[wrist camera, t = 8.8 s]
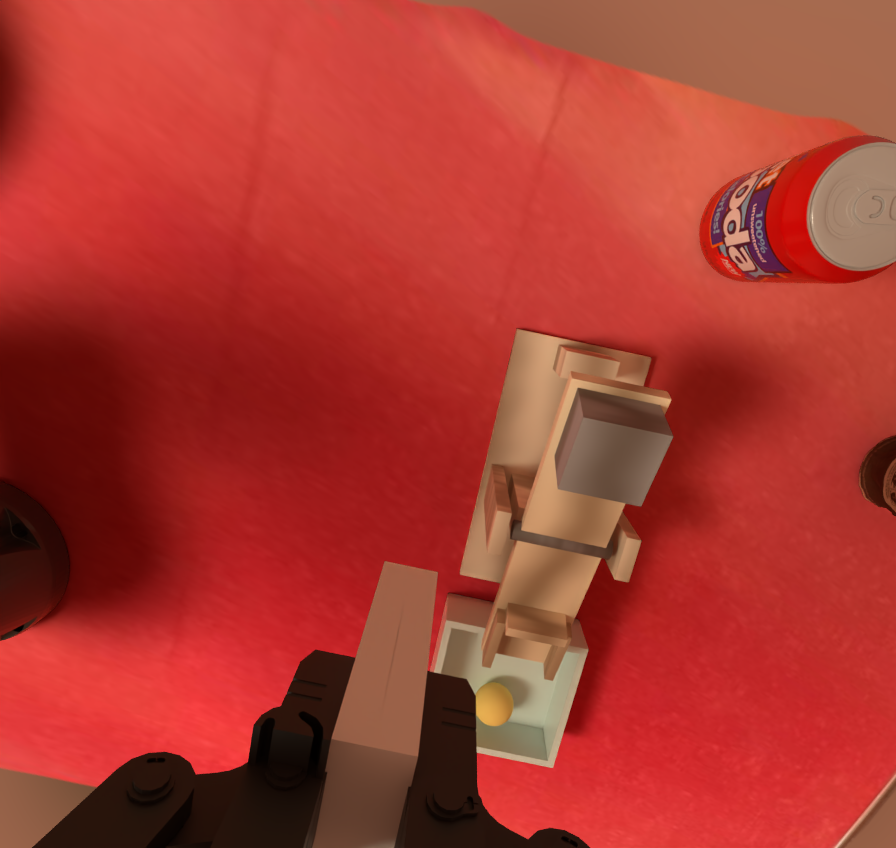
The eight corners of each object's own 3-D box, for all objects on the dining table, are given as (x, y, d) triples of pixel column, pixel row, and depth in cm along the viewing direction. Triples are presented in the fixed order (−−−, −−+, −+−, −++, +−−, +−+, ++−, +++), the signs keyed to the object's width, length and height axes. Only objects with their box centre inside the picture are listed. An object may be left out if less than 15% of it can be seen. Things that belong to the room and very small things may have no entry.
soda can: (788, 283, 47) (931, 286, 33) (687, 279, 47) (784, 280, 33) (807, 177, 45) (966, 129, 31) (702, 173, 46) (811, 124, 31)
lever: (475, 637, 49) (472, 688, 45) (562, 367, 36) (567, 405, 32) (558, 654, 49) (562, 707, 45) (675, 391, 36) (695, 432, 32)
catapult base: (460, 570, 54) (457, 644, 43) (516, 328, 49) (530, 343, 38) (579, 595, 54) (606, 675, 43) (648, 356, 49) (700, 379, 38)
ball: (473, 684, 57) (468, 725, 55) (480, 674, 54) (475, 716, 52) (510, 692, 57) (506, 733, 55) (519, 682, 54) (515, 725, 52)
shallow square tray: (421, 705, 57) (417, 740, 53) (447, 592, 55) (446, 620, 50) (546, 730, 58) (552, 767, 53) (579, 619, 55) (588, 649, 50)
